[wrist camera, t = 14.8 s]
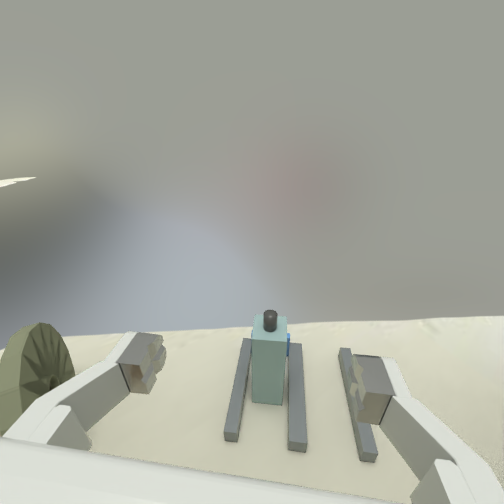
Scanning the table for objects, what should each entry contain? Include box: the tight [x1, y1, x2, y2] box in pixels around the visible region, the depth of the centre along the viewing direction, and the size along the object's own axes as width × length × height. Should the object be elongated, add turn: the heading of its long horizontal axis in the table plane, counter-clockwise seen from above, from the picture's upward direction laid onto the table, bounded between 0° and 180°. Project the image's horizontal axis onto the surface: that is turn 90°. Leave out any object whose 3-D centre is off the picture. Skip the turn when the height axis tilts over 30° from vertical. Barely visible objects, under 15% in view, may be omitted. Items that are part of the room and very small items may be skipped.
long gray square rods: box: [224, 330, 378, 463], centre depth 34 cm, size 17×14×4 cm
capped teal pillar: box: [252, 310, 287, 405], centre depth 32 cm, size 4×4×14 cm
